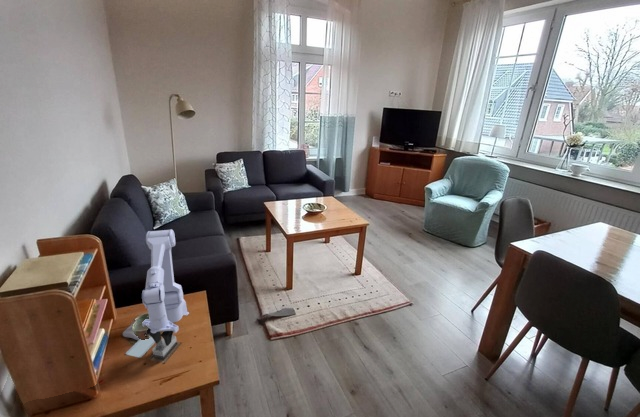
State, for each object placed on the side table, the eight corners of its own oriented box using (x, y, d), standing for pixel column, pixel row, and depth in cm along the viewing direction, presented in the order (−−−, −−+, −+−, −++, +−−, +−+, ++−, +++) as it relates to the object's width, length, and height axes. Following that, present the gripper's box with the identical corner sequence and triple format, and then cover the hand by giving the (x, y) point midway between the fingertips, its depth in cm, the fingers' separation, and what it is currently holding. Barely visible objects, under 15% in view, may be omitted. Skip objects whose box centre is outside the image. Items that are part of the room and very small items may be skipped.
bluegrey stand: (126, 357, 120) (125, 353, 119) (144, 338, 129) (144, 334, 128) (141, 360, 118) (140, 357, 118) (159, 341, 128) (158, 337, 127)
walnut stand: (149, 362, 118) (148, 358, 117) (166, 342, 127) (166, 339, 126) (165, 366, 116) (164, 362, 116) (181, 346, 126) (181, 342, 125)
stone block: (122, 343, 128) (141, 343, 126) (117, 333, 127) (137, 334, 125) (142, 324, 139) (161, 324, 137) (139, 315, 138) (157, 315, 136)
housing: (167, 342, 125) (166, 333, 123) (177, 344, 124) (175, 335, 123) (154, 358, 118) (152, 348, 116) (164, 360, 117) (162, 350, 115)
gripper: (132, 318, 112) (140, 346, 117) (167, 325, 109) (173, 354, 114) (146, 306, 118) (153, 333, 123) (180, 312, 116) (185, 340, 121)
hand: (163, 342), depth 119 cm, fingers open, 4 cm apart
